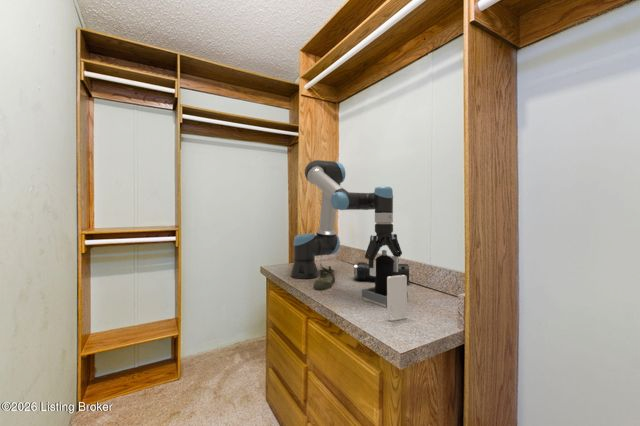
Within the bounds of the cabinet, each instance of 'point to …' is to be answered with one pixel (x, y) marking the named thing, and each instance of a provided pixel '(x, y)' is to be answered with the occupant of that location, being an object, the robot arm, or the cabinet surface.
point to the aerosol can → (383, 272)
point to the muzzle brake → (364, 274)
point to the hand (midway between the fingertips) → (384, 273)
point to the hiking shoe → (325, 279)
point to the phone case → (397, 297)
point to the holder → (375, 297)
